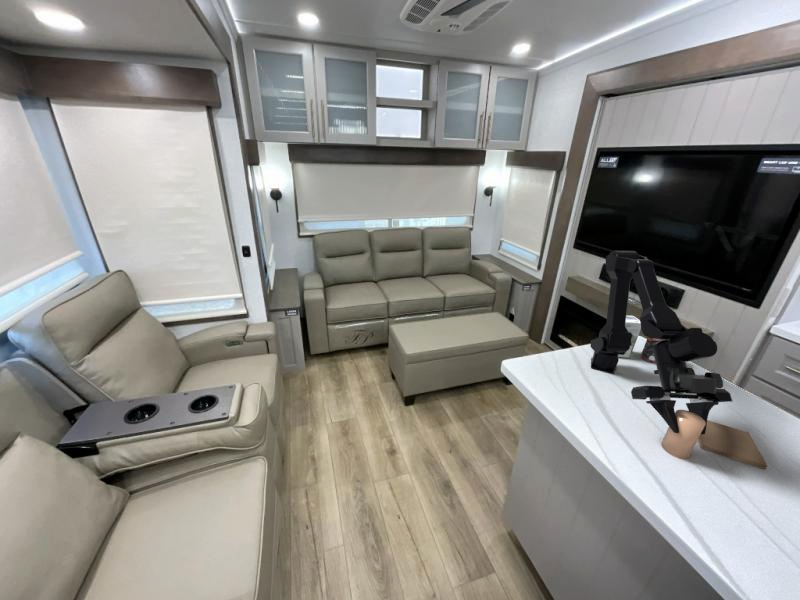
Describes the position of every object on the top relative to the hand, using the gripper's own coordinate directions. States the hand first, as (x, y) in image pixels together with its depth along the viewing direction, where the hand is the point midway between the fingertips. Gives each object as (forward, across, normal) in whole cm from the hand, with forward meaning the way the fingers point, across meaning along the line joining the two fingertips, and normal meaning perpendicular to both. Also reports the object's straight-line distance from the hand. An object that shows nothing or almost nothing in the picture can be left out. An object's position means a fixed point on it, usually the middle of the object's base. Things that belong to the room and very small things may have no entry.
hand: (689, 433), depth 71 cm
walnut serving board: (+2, +14, +8) cm, 16 cm away
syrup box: (-26, +10, +36) cm, 45 cm away
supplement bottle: (-24, +20, +34) cm, 46 cm away
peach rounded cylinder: (+4, 0, +6) cm, 7 cm away
